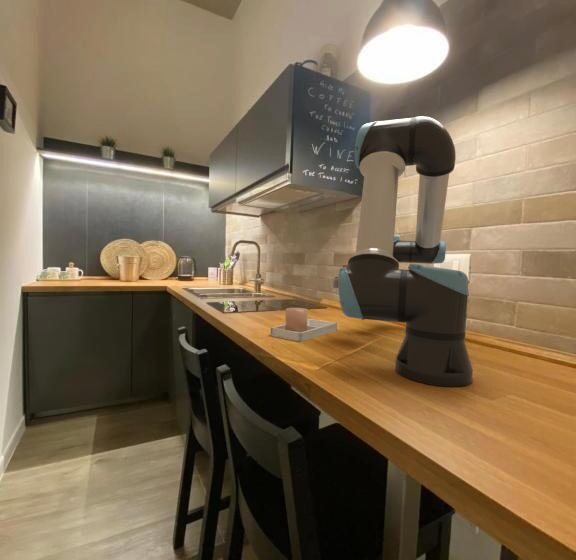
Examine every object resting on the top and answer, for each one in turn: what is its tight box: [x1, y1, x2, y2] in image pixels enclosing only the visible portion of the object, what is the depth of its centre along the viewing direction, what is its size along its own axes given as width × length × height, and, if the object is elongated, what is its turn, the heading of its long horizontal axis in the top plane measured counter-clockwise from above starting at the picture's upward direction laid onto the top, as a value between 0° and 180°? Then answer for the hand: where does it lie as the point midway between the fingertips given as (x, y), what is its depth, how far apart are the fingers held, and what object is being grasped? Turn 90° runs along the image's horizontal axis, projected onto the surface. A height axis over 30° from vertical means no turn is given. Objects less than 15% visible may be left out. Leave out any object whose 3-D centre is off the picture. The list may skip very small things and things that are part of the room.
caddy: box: [270, 318, 338, 343], centre depth 103 cm, size 11×21×3 cm, turn 143°
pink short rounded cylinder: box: [284, 307, 309, 333], centre depth 98 cm, size 7×7×8 cm
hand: (344, 284), depth 90 cm, fingers closed on soda can, 7 cm apart
